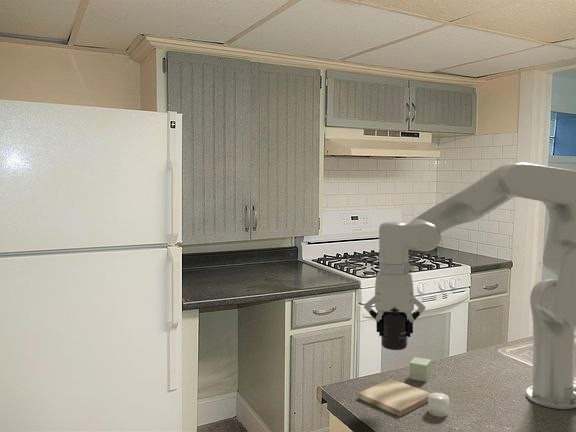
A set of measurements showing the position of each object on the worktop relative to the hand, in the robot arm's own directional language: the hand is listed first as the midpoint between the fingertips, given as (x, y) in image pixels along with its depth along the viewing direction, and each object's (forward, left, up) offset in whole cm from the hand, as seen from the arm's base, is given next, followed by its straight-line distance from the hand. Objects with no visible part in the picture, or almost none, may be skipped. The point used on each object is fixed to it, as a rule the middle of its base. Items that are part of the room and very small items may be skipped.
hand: (394, 334), depth 130 cm
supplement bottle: (0, 0, -3) cm, 3 cm away
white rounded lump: (-12, -2, -18) cm, 21 cm away
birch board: (0, 0, -18) cm, 18 cm away
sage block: (+4, -17, -18) cm, 25 cm away
